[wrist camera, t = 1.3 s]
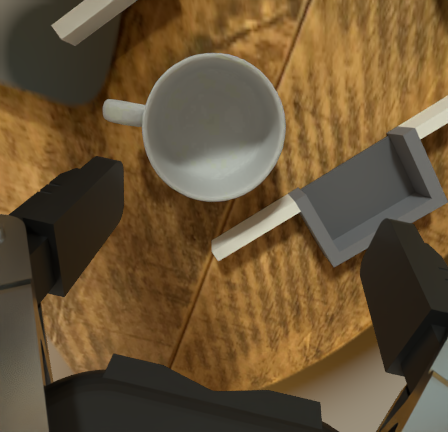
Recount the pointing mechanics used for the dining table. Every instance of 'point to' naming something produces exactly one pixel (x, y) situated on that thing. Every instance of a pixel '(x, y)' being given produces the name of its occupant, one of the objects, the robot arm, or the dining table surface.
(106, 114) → the teacup
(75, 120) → the dining table surface
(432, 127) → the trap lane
